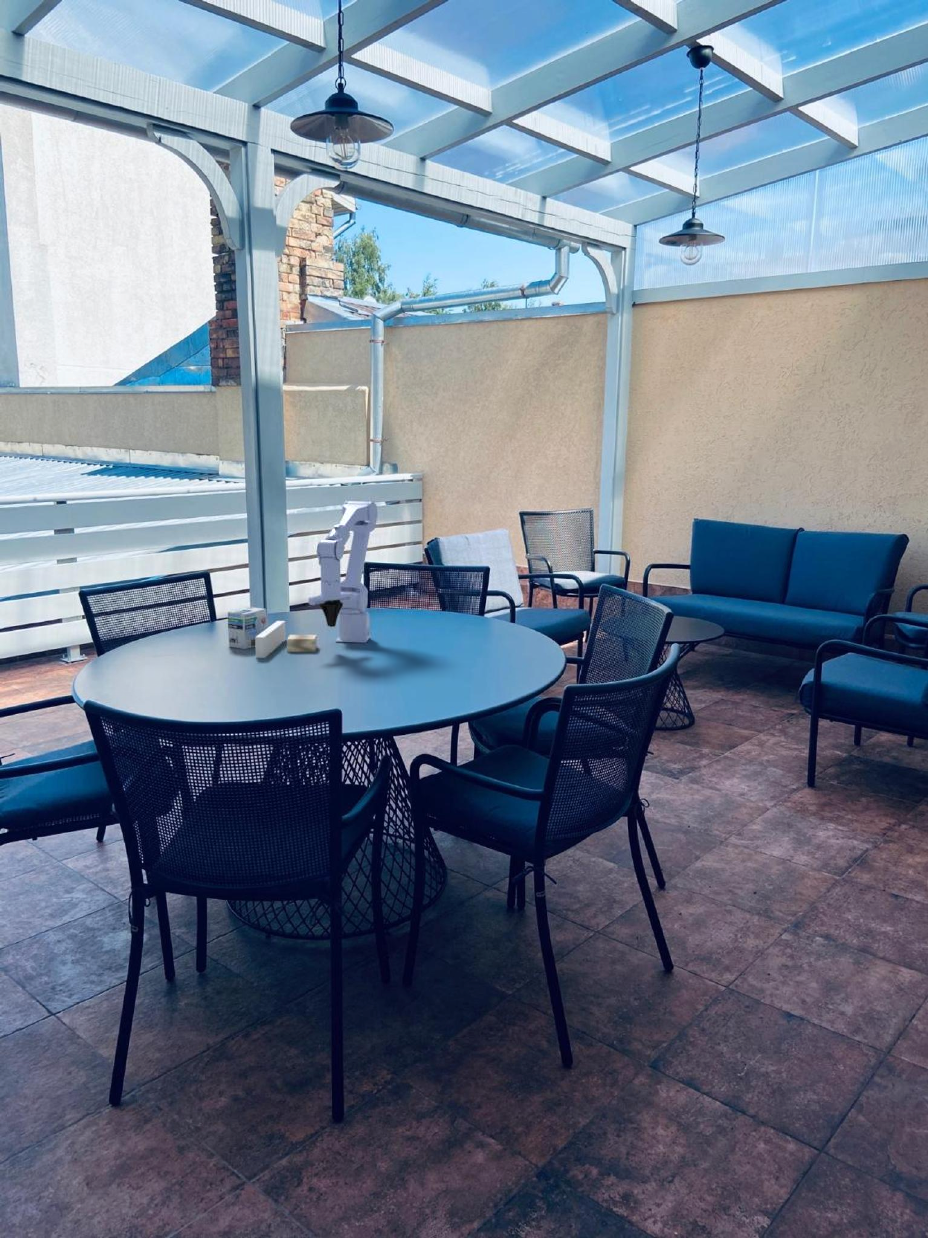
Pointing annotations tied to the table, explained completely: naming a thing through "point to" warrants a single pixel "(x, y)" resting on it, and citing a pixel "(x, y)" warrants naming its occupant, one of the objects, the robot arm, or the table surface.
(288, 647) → the maple block
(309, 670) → the table surface
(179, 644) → the table surface
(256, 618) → the light bulb box
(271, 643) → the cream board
